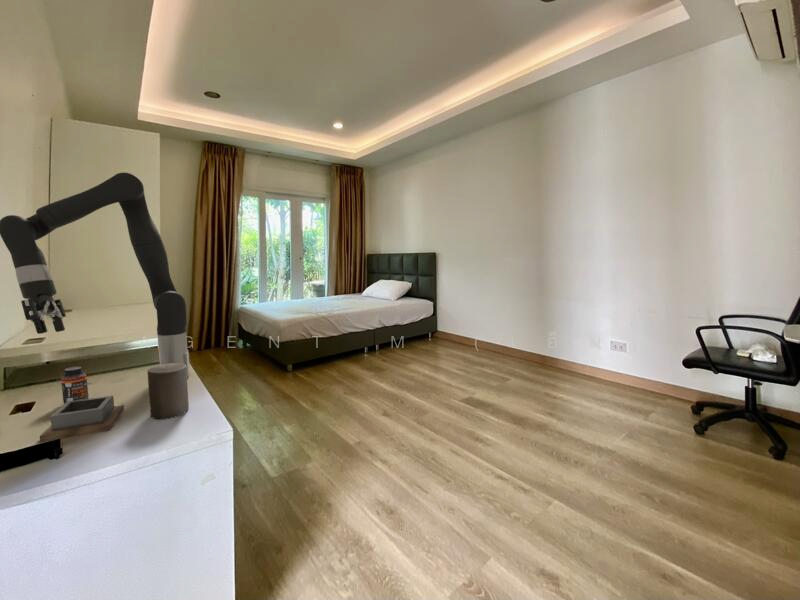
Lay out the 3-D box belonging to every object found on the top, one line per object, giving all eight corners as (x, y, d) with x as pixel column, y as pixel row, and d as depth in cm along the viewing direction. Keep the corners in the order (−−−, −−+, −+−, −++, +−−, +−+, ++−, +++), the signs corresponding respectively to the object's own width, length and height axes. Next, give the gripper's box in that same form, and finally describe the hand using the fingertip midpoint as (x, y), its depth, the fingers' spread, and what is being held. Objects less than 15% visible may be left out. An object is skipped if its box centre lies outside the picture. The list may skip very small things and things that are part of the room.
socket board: (124, 409, 107) (123, 405, 107) (110, 429, 95) (109, 424, 95) (63, 418, 101) (63, 413, 101) (40, 441, 89) (39, 436, 89)
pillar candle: (148, 422, 99) (144, 370, 98) (153, 409, 108) (149, 360, 106) (188, 415, 104) (185, 365, 102) (190, 403, 112) (187, 357, 111)
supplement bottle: (73, 407, 109) (69, 371, 108) (58, 406, 110) (54, 370, 109) (94, 400, 115) (90, 366, 114) (79, 398, 116) (75, 365, 115)
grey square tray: (114, 408, 105) (113, 395, 104) (103, 423, 96) (101, 408, 95) (68, 415, 100) (67, 401, 100) (52, 431, 91) (50, 416, 91)
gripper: (34, 276, 104) (51, 330, 105) (64, 280, 118) (79, 327, 119) (2, 283, 102) (20, 337, 103) (37, 285, 115) (52, 333, 116)
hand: (52, 332), depth 111 cm, fingers open, 8 cm apart
